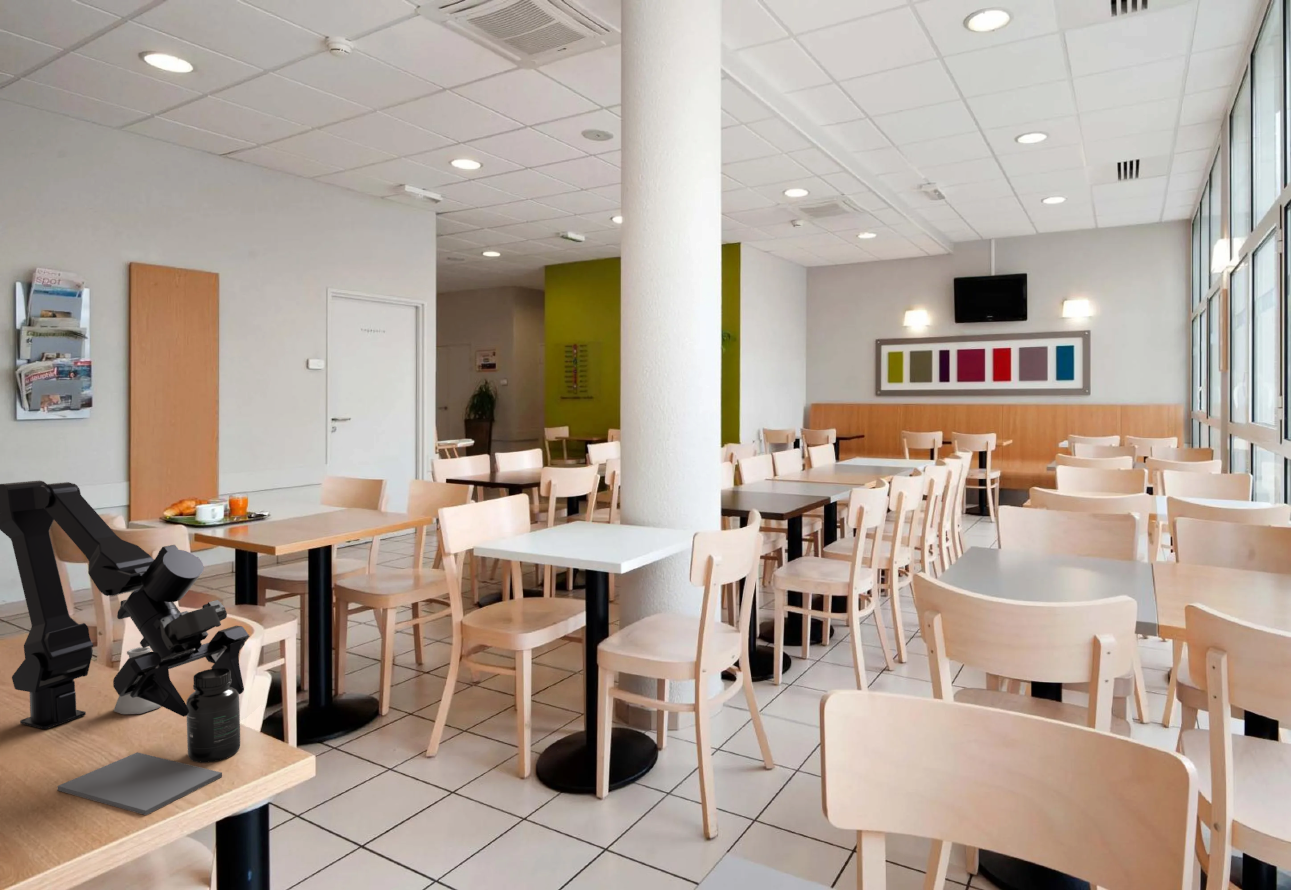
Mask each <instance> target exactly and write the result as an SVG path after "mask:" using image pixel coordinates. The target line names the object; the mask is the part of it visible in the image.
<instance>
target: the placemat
mask: <svg viewBox="0 0 1291 890" xmlns="http://www.w3.org/2000/svg"><path fill="white" fill-rule="evenodd" d="M220 778H223V772H221V771H217V770H213V769H209V768H204V767H200V766H197V765H192V764H188V763H184V762H179V761H175V760H171V759H167V758H162V757H158V756H156V755H154V756H153V755H150V754H146V753H141V752H139V751H137V752H134V753H132V754H129V755H127V756H125V757H123V758H120V759H118V760H116V761H113V762H111V763H108V764H106V765H105V766H104V765H103V766H101V767H99V768H97V769H94V770H92V771H89V772H88V773H85V774H83V775H80V776H78V777H75V778H72V779H71V780H68V781H66V782H64V783H61V784H59V785H57V787H56V788H57V791H59V792H61V793H62V792H63V793H66V794H69V795H71V796H72V795H73V796H76V797H80V798H83V799H87V800H90V801H94V802H98V803H101V804H105V805H109V806H112V807H114V808H119V809H122V810H126V811H130V812H134V813H137V814H139V815H140V814H141V815H144V816H147V815H149V814H151V813H153V812H155V811H158V810H159V809H161V808H163V807H165V806H167V805H168V804H169V805H170V804H171V803H173V802H175V801H177V800H179V799H181V798H183V797H185V796H187V795H189V794H191V793H193V792H195V791H197V790H198V789H201V788H202V787H205V786H206V785H208V784H211V783H212V782H215V781H216V780H218V779H219V780H220Z"/></svg>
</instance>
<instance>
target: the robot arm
mask: <svg viewBox="0 0 1291 890" xmlns="http://www.w3.org/2000/svg"><path fill="white" fill-rule="evenodd" d="M54 521H55V522H56V524H57V525H58V526H59V527H60V528H61V529H62V531H63V532H64V533H65V534H66V535H67V536H68V537H69V539H70V540H71V541H72V542H73V544H75V545H76V547H77V548H78V549H79V550H80V551H81V553H83V555H84V556H85V557H86V559H87V561H88V570H87V573H88V576H89V577H90V578H91V580H92V582H93V583H94V586H96V588H97V589H98V591H99V592H100V593H101V594H102V595H104V596H106V597H108V596H109V597H111V596H112V597H114V596H119V595H122V594H128V593H130V594H129V595H128V597H127V598H126V599H122V600H120V604H119V605H120V606H119V609H118V611H117V613H116V614H117V616H116V617H117V619H118V620H123V619H128V618H130V620H131V621H132V622H133V623H134V625H135V627H136V628H137V629H138V631H139V633H140V634H141V636H142V638H141V639H140V641H139V644H140V647H143V648H145V647H148V648H151V651H150V652H148V653H145V654H142V655H138V656H135V657H132V658H129V657H128V659H127V660H126V661H125V662H124V663H123V665H122V667H121V668H120V669H119V670H118V672H117V673H116V674H115V676H114V678H113V683H112V685H113V688H114V690H115V692H116V693H117V694H118V697H119V696H121V697H122V696H125V695H128V694H130V696H131V697H132V698H135V697H140V698H142V699H145V700H148V701H150V702H153V703H156V704H158V705H160V706H161V707H162V708H164V709H167V710H168V711H171V712H173V713H175V714H177V715H179V716H181V717H187V714H188V713H189V710H188V708H187V706H186V702H185V700H184V698H182V695H181V694H180V693H179V690H177V688H176V687H175V685H174V684H173V682H172V681H171V678H170V671H169V670H171V669H173V668H177V667H180V666H183V665H186V664H189V663H191V662H195V661H197V660H200V659H203V658H205V659H206V661H207V662H208V663H212V664H213V665H212V666H210V669H216V668H225V669H229V670H230V671H231V679H232V683H231V684H230V686H232V687H234V688H235V689H236V690H237V691H238V693H239V695H241V694H242V693H244V691H245V687H244V682H243V676H242V672H241V667H240V658H239V656H240V651H241V650H242V648H243V647H244V646H245V644H246V642H247V640H248V639H249V638H251V637H250V634H249V633H248V632H247V630H246V629H245V627H243V626H241V625H234V626H231V627H227V628H223V629H220V630H218V631H216V633H215V634H214V636H213V637H212V638H211V639H210V641H209V642H206V643H203V644H202V641H203V640H205V639H207V637H209V633H208V631H210V630H211V629H214V628H217V627H221V626H222V623H221V621H223V620H225V619H226V618H227V616H228V612H227V610H226V607H225V606H224V605H223V604H222V602H221V601H220V600H219V599H216V600H213V601H208V602H207V603H206V604H203V605H202V606H201V608H198V609H195V610H191V611H188V610H186V611H182V612H181V610H180V609H179V608H178V606H177V605H176V604H175V602H179V601H180V600H183V598H184V597H185V595H186V594H187V593H188V591H190V589H191V588H192V586H193V585H194V584H195V582H197V580H198V579H199V578H200V576H201V575H202V574H203V572H204V568H205V567H204V564H203V561H202V559H200V558H199V556H196V555H194V554H193V553H191V552H189V551H187V550H185V549H184V550H183V549H179V548H178V547H177V546H176V544H171V545H165V546H162V547H161V548H160V550H159V552H158V553H157V555H156V557H155V558H153V557H152V556H151V555H150V554H149V553H148V552H147V551H145V550H144V549H143V548H141V546H139V545H138V544H135V543H131V542H129V541H127V540H124V539H122V538H121V537H119V536H118V535H117V534H116V533H115V532H114V531H113V529H112V528H111V527H110V526H109V525H108V524H107V522H106V521H105V520H103V518H102V517H101V516H100V515H99V513H97V511H96V510H95V509H94V508H93V507H92V506H91V505H90V503H89V502H88V501H86V499H85V497H83V496H82V494H81V489H80V487H79V486H78V485H77V484H75V483H73V482H70V481H69V482H68V481H66V482H57V483H56V482H55V483H46V482H45V481H43V480H30V481H28V480H27V481H19V482H10V483H9V482H8V483H0V531H1V532H2V533H3V534H4V535H5V536H7V537H8V538H9V540H10V541H11V544H12V547H13V552H14V556H15V560H16V565H17V570H18V574H19V577H20V582H21V587H22V591H23V594H24V599H25V603H26V607H27V611H28V615H29V619H30V623H31V625H30V626H31V628H30V630H29V633H28V635H27V637H26V640H25V642H24V644H23V652H24V653H23V654H24V660H23V661H22V663H21V664H20V665H19V667H18V668H17V669H16V670H15V672H14V673H13V674H12V676H11V680H12V683H13V687H14V690H18V691H22V692H29V708H30V709H29V711H30V712H29V713H30V716H29V717H26V718H22V719H21V720H20V721H19V723H20V725H21V724H22V725H25V726H29V727H34V728H37V729H42V730H48V729H51V728H52V727H55V726H59V725H61V724H64V723H67V722H69V721H72V720H76V719H79V718H81V717H83V716H85V715H87V713H86V711H83V710H80V709H77V697H76V695H77V693H76V683H75V682H76V681H75V680H76V679H79V678H82V677H86V676H88V674H89V670H90V666H91V662H92V658H93V651H94V650H93V647H94V644H93V642H92V640H91V636H90V631H89V630H90V629H89V627H88V625H87V624H86V623H84V622H83V623H80V624H79V623H78V622H77V621H76V620H74V619H73V618H72V617H71V616H70V614H69V613H70V612H69V609H68V605H67V601H66V597H65V593H64V589H63V585H62V584H63V583H62V579H61V575H60V571H59V568H58V564H57V560H56V555H55V551H54V547H53V543H52V538H51V535H50V530H51V527H52V525H53V523H54Z"/></svg>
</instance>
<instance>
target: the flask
mask: <svg viewBox="0 0 1291 890" xmlns="http://www.w3.org/2000/svg"><path fill="white" fill-rule="evenodd" d="M148 652H152V649H151V648H150V647H149V646H148V647H145V648H143V647H142V646H140V647H136V648H130V649H129V650H127V651H126V654H127V656H128V659H129V658H132V657H135V656H138V655H142V654H145V653H148ZM161 707H162V706H160V705H158V704H156V703H153V702H150V701H148V700H145V699H142V698H140V697H135V698H132V697H131V696H130V694H128V695H125V696H122V697H121V696H119V695H118V698H117V700H116V703H115V705H114V708H113V712H115V713H117V714H121V715H137V714H138V715H139V714H144V713H147V712H151V711H153V710H156V709H160V708H161Z"/></svg>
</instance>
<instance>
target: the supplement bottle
mask: <svg viewBox="0 0 1291 890" xmlns="http://www.w3.org/2000/svg"><path fill="white" fill-rule="evenodd" d="M231 683H232V679H231V671H230V670H229V669H225V668H216V669H212V668H210V669H205V670H201V671H199V672H197V673H196V672H195V674H194V675H193V685H192V690H194V691H193V692H192V693H191V694H190V695H189V696H188V698H187V699H186V702H185V704H186V706H187V708H188V710H189V713H188V714H187V716H186V734H187V735H186V736H187V737H186V739H187V741H186V742H187V757H188V759H189V760H191V761H192V762H195V763H201V764H202V763H205V764H206V763H214V762H218V761H222V760H225V759H228V758H231V757H232V756H234V755H235V754H236V753H238V751H239V749H240V748H241V720H240V719H241V717H240V716H241V715H240V711H241V710H240V694H239V693H238V691H237V690H236V689H235V688H234V687H232V686H230V684H231ZM227 757H228V758H227Z"/></svg>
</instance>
